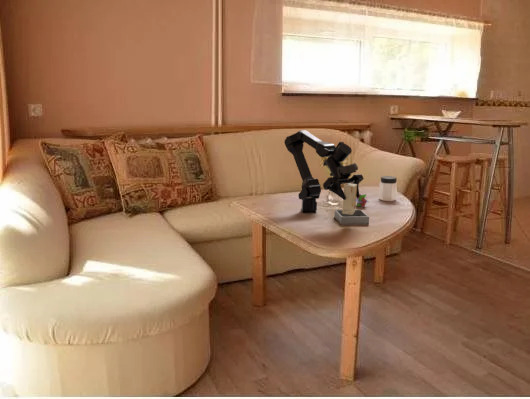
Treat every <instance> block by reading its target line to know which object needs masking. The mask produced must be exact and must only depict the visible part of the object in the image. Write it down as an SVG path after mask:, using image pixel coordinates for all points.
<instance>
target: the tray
mask: <svg viewBox="0 0 530 399" xmlns="http://www.w3.org/2000/svg"><path fill="white" fill-rule="evenodd" d="M342 210H343V209H334V218H335V219H336V221H337V223H339V225H341V226H347V225H348V226H349V225H350V226H351V225H352V226H353V225H361V226H363V225H370V216H369V215H368V214H367V213H366V212H364V211H363V210H362V209H355V212H354V213H353V214H352V215H350V214H343V213H342Z"/></svg>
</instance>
